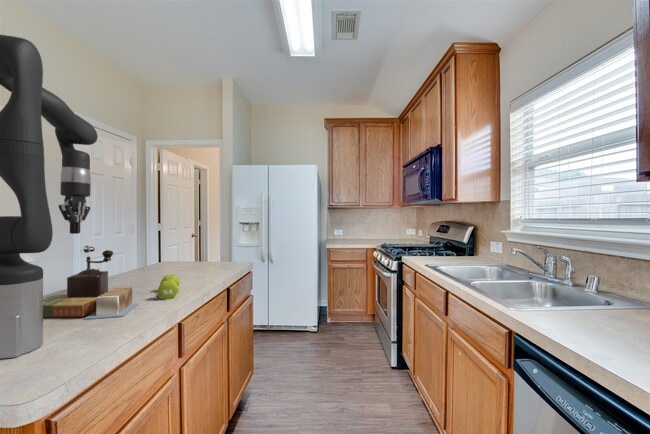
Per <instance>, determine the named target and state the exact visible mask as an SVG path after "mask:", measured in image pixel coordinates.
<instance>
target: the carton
mask: <svg viewBox="0 0 650 434" xmlns="http://www.w3.org/2000/svg"><path fill="white" fill-rule="evenodd" d="M96 298H97V297H90V298H67V297H58V298H55V299H52V300H49V301H46V302H43V318H70V317H71V318H74V317H75V318H80V317H83V318H84V317H86V316H89V315H90V314H92V313H94V312H95V311H96Z"/></svg>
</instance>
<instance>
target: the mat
mask: <svg viewBox="0 0 650 434" xmlns="http://www.w3.org/2000/svg"><path fill="white" fill-rule="evenodd" d="M138 306H139V303H132V304H131V305H129V306H128V307H127V308H125V309H124V310H123V311H121V312H120V313H119V314H115V315H101V316H96V311H95V312H93V313H90V314H88V315H86V316H85V317H83V320H85V321H86V320H87V321H88V320H97V319H98V320H99V319H111V318H113V319H114V318H123V317H125V316H127V315H128V314H129V313H130V312H131V311H133V310H134V309H136V307H138Z"/></svg>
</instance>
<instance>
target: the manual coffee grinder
mask: <svg viewBox="0 0 650 434" xmlns="http://www.w3.org/2000/svg"><path fill="white" fill-rule="evenodd" d="M101 255H102V256H103V259H102V260H91V256H87V257H86V258H85V259H86V261H85V262H86V269H84V270H82V271H80V272H78V273H75V274H73V275H70V276H68V277H67V278H66V285H67V286H66V298H90V297H99V296H100V295H102V294H104V293H106V292H108V291H109V271H108V270H104V271H103V270H100V268H97V269H95V268H91V264H102V263H108V262H111V261H112V259H111V257H112V256H113V255H114V251H113V250H108V249H107V250H104V251H103V252H102V254H101Z"/></svg>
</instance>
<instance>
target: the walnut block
mask: <svg viewBox="0 0 650 434" xmlns="http://www.w3.org/2000/svg"><path fill="white" fill-rule="evenodd" d="M131 304H133V286H131V287H116V288H111V289H109V290H108V292H106V293H104V294H102V295H100V296H99V297H97V298H96V316H101V315H115V314H119V313H120V312H121V311H123V310H124V309H125V308H127V307H128V306H129V305H131Z"/></svg>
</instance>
